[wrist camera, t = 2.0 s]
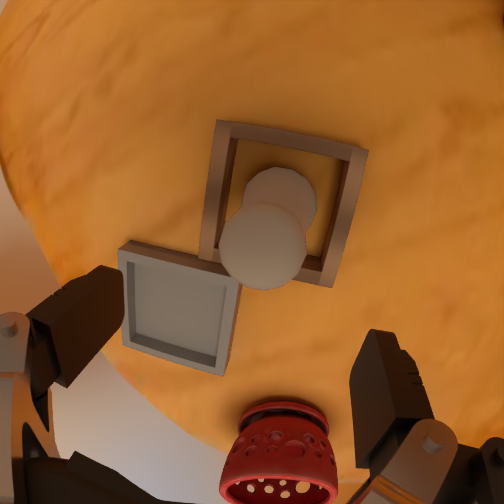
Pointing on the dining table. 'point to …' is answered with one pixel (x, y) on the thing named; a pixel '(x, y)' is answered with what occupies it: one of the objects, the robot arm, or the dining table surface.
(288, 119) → the dining table surface
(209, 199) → the rectangular frame
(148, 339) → the tray
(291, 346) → the dining table surface
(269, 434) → the plant pot
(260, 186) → the salt shaker
